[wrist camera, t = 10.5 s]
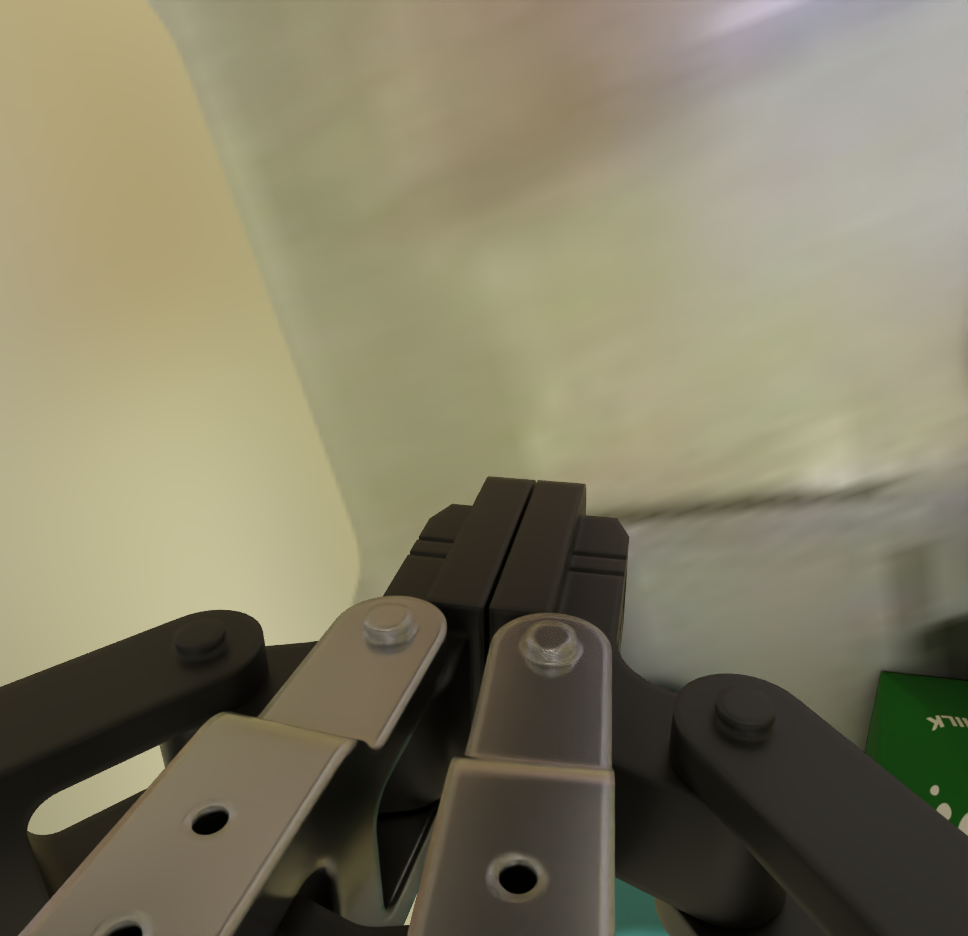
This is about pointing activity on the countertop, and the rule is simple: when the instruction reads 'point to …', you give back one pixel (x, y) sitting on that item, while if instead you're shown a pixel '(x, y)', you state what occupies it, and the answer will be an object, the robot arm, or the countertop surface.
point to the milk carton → (924, 739)
